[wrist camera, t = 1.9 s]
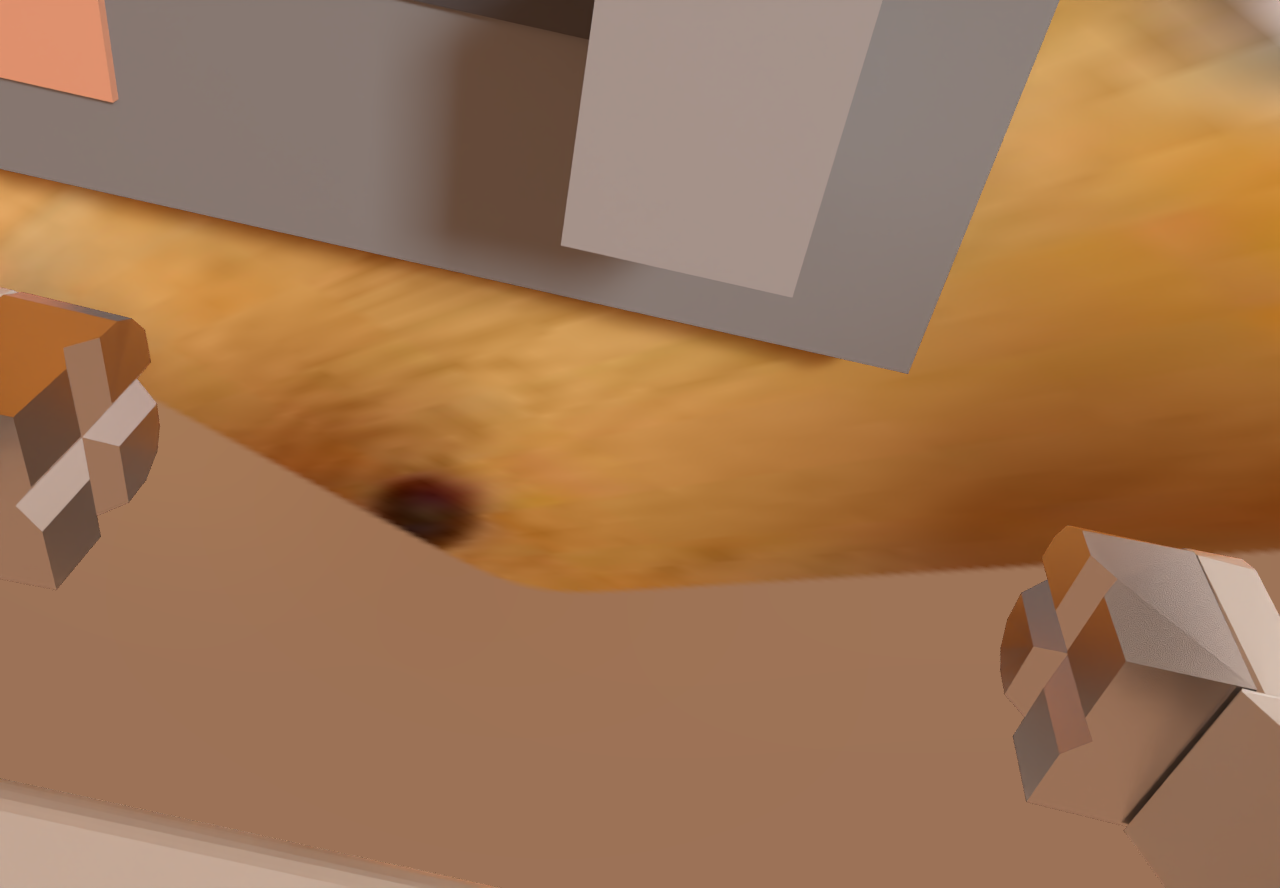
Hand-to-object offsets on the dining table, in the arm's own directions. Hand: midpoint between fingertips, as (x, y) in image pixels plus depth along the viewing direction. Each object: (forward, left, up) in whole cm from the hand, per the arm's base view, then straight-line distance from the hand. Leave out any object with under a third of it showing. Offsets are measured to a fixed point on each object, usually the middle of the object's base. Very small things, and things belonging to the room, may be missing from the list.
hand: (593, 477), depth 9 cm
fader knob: (0, 0, -14) cm, 14 cm away
